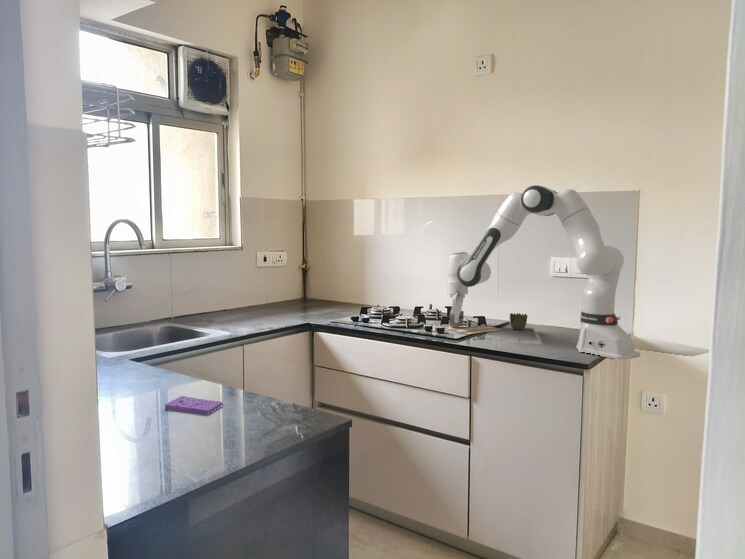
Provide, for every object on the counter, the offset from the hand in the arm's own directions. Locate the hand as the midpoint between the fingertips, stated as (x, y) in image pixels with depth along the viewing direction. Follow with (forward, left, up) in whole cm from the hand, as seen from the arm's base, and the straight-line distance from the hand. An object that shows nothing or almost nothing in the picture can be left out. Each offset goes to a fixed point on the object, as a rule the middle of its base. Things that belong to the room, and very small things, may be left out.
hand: (456, 321), depth 248 cm
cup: (-17, -20, -4) cm, 27 cm away
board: (-4, -4, -4) cm, 7 cm away
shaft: (0, 0, -3) cm, 3 cm away
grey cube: (0, 0, -2) cm, 2 cm away
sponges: (-41, +127, -5) cm, 133 cm away
